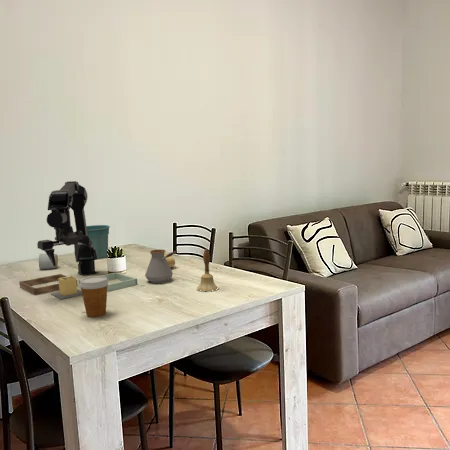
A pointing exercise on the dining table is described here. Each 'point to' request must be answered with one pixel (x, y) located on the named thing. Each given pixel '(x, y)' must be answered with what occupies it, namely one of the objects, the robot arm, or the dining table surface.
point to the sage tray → (125, 282)
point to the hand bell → (207, 275)
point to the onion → (170, 261)
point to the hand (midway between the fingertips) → (66, 264)
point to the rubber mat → (60, 296)
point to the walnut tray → (36, 291)
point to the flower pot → (99, 239)
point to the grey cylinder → (47, 262)
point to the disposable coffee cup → (94, 295)
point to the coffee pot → (159, 267)
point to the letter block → (67, 285)
